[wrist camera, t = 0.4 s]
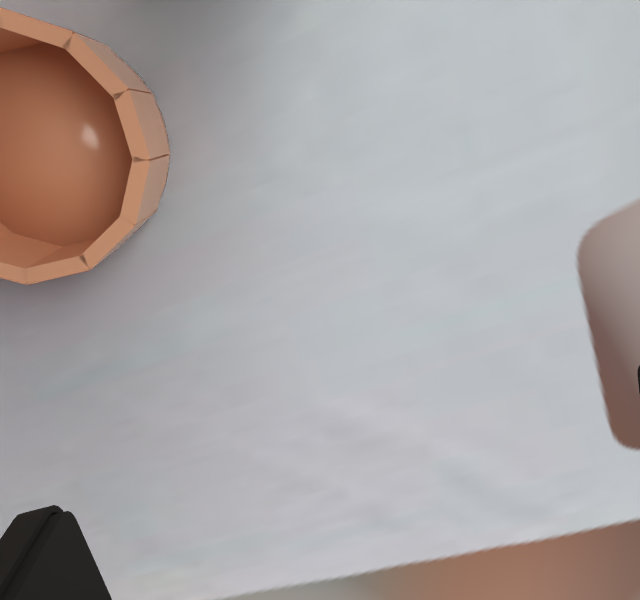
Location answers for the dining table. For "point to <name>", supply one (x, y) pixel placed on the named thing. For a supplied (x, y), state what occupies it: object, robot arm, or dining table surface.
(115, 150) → the bowl
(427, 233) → the dining table surface
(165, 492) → the dining table surface
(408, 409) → the dining table surface
